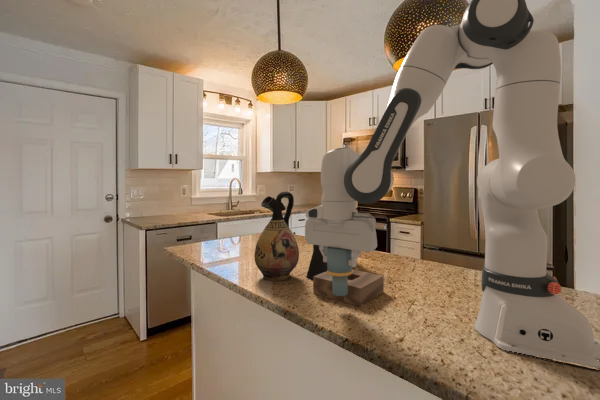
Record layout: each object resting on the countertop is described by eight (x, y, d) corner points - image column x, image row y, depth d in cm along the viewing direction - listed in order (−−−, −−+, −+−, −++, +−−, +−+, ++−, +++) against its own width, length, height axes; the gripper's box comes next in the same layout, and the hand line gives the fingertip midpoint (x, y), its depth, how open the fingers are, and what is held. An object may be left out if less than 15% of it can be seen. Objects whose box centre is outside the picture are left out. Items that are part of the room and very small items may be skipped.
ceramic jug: (269, 287, 100) (268, 192, 98) (247, 275, 112) (245, 191, 110) (311, 277, 110) (311, 191, 108) (286, 267, 122) (286, 190, 120)
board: (383, 292, 95) (383, 275, 95) (360, 306, 85) (360, 288, 84) (338, 281, 106) (338, 266, 105) (313, 292, 95) (313, 276, 95)
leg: (357, 292, 83) (356, 247, 83) (344, 299, 78) (343, 251, 78) (336, 287, 88) (335, 244, 87) (322, 294, 83) (321, 248, 82)
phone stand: (317, 282, 105) (317, 246, 104) (306, 277, 110) (306, 243, 109) (337, 277, 110) (337, 243, 110) (325, 273, 115) (326, 240, 114)
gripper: (381, 212, 77) (381, 267, 78) (315, 209, 91) (316, 256, 91) (369, 214, 73) (369, 273, 73) (300, 211, 86) (302, 261, 87)
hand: (339, 264), depth 83 cm, fingers closed on leg, 6 cm apart
